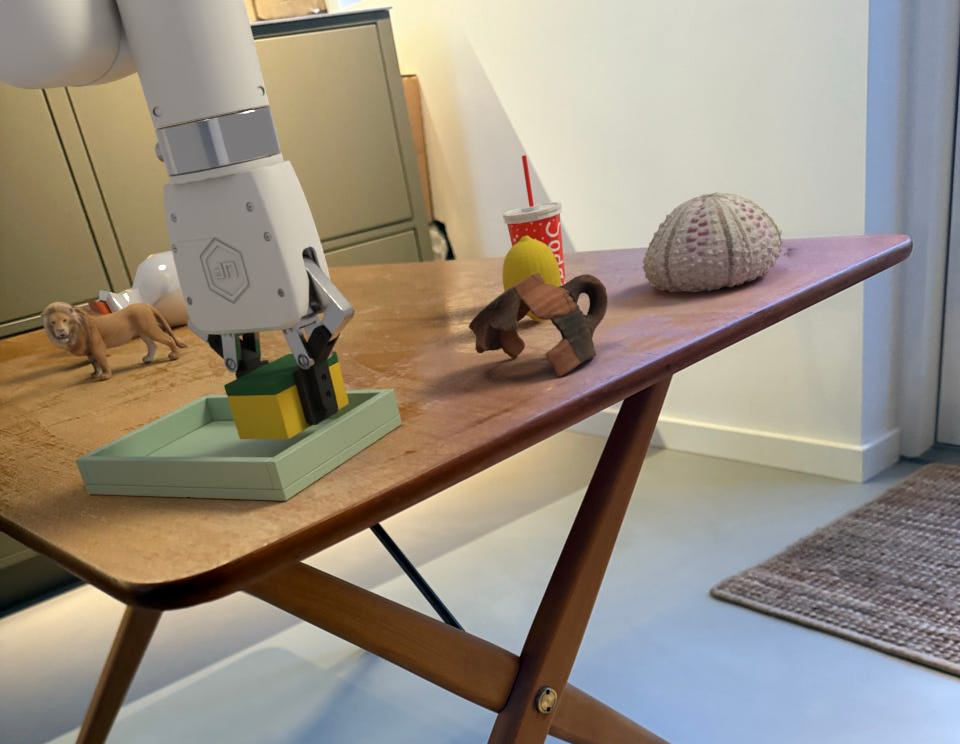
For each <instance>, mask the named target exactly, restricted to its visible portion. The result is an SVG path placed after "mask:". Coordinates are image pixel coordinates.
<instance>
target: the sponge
mask: <svg viewBox="0 0 960 744" xmlns="http://www.w3.org/2000/svg"><path fill="white" fill-rule="evenodd" d="M327 362H328V366H329V370H330V374H331V378H332V382H333V386H334V390H335V394H336V400H337V404H338V410H339V409H341V408H343V407H344V406H346V405H348V404H349V401H348V397H347V393H346V385H345V381H344V377H343V373H342V369H341V364H340V361H339V357H338V353H337V351H334V350H333V355H332V357H330V358H328V359H327ZM299 368H300V367H299V366H298V364H297V362H296V360H295V358H294V356H293V353H287V354H285V355H282V356H280V357H279V358H276V359H275V360H273V361H270V362H269V363H268V364H266V365H264V366H262V367H260V368H258V369H256V370H254V371H252V372H250V373H248V374H246V375H244V376H242V377H240V378H238V379H237V378H236V379H234V380H232V381H230V382H227V383H225V384H224V385H223V387H224V391H225V395H227V398H228V401H229V405H230V408H231V411H232V415H233V418H234V421H235V425H236V428H237V431H238V435H239V438H240V439H290V438H292V437H293V436H295V435H297V434H298V433H300V432H302V431H304V430H305V429H307V428H309V427H310V426H312V425H309V424H308V423H307V422H306V419H305V416H304V412H303V408H302V404H301V401H300V397H299V393H298V390H297V386H296V382H295V378H294V372H293V371H295V370H297V369H299Z"/></svg>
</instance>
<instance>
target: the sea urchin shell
mask: <svg viewBox="0 0 960 744" xmlns="http://www.w3.org/2000/svg"><path fill="white" fill-rule="evenodd" d="M782 234H783V231H782V230H781V229H779V225H778V223H776V222H775V221H774V219H773V218H772V217H771V216H770V214H769V213H768V212H766V210H765V209H764V208H762V207H761V206H760V205H758V204H757V203H755V202H754V201H752V200H751V199H748V198H746V197H745V196H742V195H738V194H734V193H733V194H732V193H728V192H727V193H726V192H716V191H715V192H713V193H706V194H705V193H704V194H703V193H702V194H701V195H699V196H696V197H692V198H691V199H689V200H686V201H684V202H682V203H680V204H678V205H677V207H675V208H673V210H672V211H671V212H670V213H669V214H666V215H665V219H664V221H663V222H661V223H659V224H658V229H657V231H655V232H653V237H652V239H651V240H650V242H649V244H648V248H647V250H646V252H645V253H644V257H643V260H642V264H643V266H642V269H643V272H644V274H645V275H644V278H645V279H647V281H648V283H649V284H651V285H652V286H654V288H656V290H661V291H662V292H663V291H666V290H667V291H668V292H670V293H672V292H677V293H680V292H689V293H693V292H694V293H697V292H699V293H700V292H703V291H707V292H711V291H715V290H720V288H724V287H727V288H729V287H730V288H733V287H734V286H737V287H738V286H740V285H743V284H744V283H745V282H747V283H749V282H751V281H755V280H756V279H757V278H758V277H762V276H763V274H768V273H769V270H770V268H772V267H774V266H776V261H777V260H778V258H779V257H780V256H781V255H780V253H781V252H782V251H783V249H782V245H783V244H784V243H783V242H784V241H785V240H784V239H783V237H782Z"/></svg>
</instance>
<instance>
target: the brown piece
mask: <svg viewBox="0 0 960 744" xmlns="http://www.w3.org/2000/svg"><path fill="white" fill-rule="evenodd" d="M582 294H586V295H587V297H588V301H589V305H588V310H587V313H586V314H584V311H582V310H581V309H580V306H579V304H578V301H579V298H580V295H582ZM608 301H609V298H608V294H607V289H606V286H605V285H604V283H602V282H601V280H600V278H598V277H597V276H594V275H593V274H587V273H586V274H581V275H577V276H574V277H573V278H572V279H570V280H569V281H567V282H566V284H564V285H562V286H559V287H557V286H555V285H550V284H546V283H545V281H544V280H543V278H542V276H541V274H540V273H536V274H533V275H531V276H528V277H527V278H525V279H523V280H522V281H520V282H519V283H517V284H516V285H514V286H513V287H512V288H510V289H508V290H506V291H503V292H502V293H501V294H499V295H498V296H497V297H496V298H495V299H493V300H492V301H491V302H489V303H488V304H487V305H485V307H484V308H483V309H481V310H480V311H479V312H478V313H477V314H476V316H474V318H473V319H472V320H471V321H470V323H469V324H468V329H470V331H472V332H473V334H474V335H475V347H474V348H475V349H474V350H475V351H476V352H477V354H484V352H489V351H491V352H492V351H499V350H502V351H503V353H504V354H506V355H508V356H509V357H510V358H511V359H514V360H515V359H517V358H518V356H520V354H521V353H522V352H523V351H524V350H525V347H526V346H525V345H526V344H525V341H524V340H523V339H522V338H521V337H520V336H519V333H518V331H517V330H518V329H519V328H520V324H519V322H520V321H521V320H523V319H524V318H525V317H526V316H527V313H528V312H529V311H531V313H532V314H533V315H535V316H537V317H538V318H540V319H542V320H543V321H548V320H550V321H551V323H552V324H553V326H554V327H555V328H556V329H557V330H558V331H559V333H560V336H561V339H560V341H559V342H558V343H557V344H556V345H554V346H553V347H552V348H551V349H550V350H548V351H547V352H546V353H545V357H546V358H547V360H548V362H549V363H550V364H551V365H552V367H553V369H554V371H555V372H556V375H557V377H559V378H560V377H563V376H564V375H566V374H567V373H569V372H570V371H572V370H574V369H575V368H576V367H578V366H579V365H581V364H582V363H584V362H585V361H590V360H591V359H593V358H595V357H596V356H597V352H596V350H595V345H594V340H593V337H594V333H595V331H596V329H597V327H598V326H599V325H600V324H601V322H602V321H603V319H604V318H605V315H606V313H607V309H608V303H609V302H608ZM542 320H541V321H542Z"/></svg>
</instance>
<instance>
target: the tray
mask: <svg viewBox="0 0 960 744" xmlns="http://www.w3.org/2000/svg"><path fill="white" fill-rule="evenodd" d="M346 393H347V397H348V401H349V404H348V405H346V406H344V407H343V408H341V409H339V410H338V412H337V413H336V414H334V415H332V416H331V417H329V418H327V419H326V420H324V421H322V422H321V423H319V424H317V425H312V426H310V427H309V428H307V429H305V430H304V431H302V432H300V433H298V434H297V435H295V436H293V437H292V438H290V439H240V438H239V435H238V431H237V428H236V425H235V421H234V418H233V415H232V411H231V408H230V405H229V401H228V398H227V394H206V395H205V394H204V395H203V396H201V397H199V398H197V399H195V400H193V401H191V402H189V403H186V404H185V405H182V406H180V407H179V408H176V409H174V410H173V411H170V412H168V413H166V414H164V415H162V416H161V417H158V418H157V419H155V420H152V421H150V422H147V423H145V425H142V426H140V427H138V428H136V429H134V430H132V431H130V432H128V433H126V434H124V435H121V436H120V437H117V438H116V439H114V440H112V441H110V442H108V443H106V444H104V445H102V446H100V447H98V448H96V449H94V450H91V451H90V452H88V453H85V454H84V455H81V456H79V457H77V458H76V459H74V461H75V464H76V467H77V469H78V472H79V474H80V476H81V480H82V482H83V484H84V487H85V489H86V492H87V494H88V495H101V496H103V495H104V496H130V497H131V496H133V497H163V498H187V497H191V498H190V499H192V498H193V497H194V498H193V499H218V500H219V499H220V500H247V501H248V500H249V501H276V502H277V501H279V502H287V501H289V500H290V499H291V498H293V497H294V496H296V495H297V494H299V493H300V492H302V491H303V490H305V489H307V488H308V487H309V486H312V484H314V483H315V482H317V481H318V480H320V479H322V478H324V477H325V476H326V475H327V474H329V473H331V472H332V471H333V470H335V469H337V468H338V467H339V466H341V465H343V464H344V463H345V462H347V461H349V460H351V459H352V458H353V457H355V456H356V455H358V454H359V453H361V452H362V451H364V450H366V449H367V448H369V447H370V446H371V445H373V444H374V443H376V442H377V441H379V440H380V439H382V438H383V437H385V436H386V435H388V434H389V433H390V432H393V431H394V430H395V429H397V428H399V427H400V426H402V423H403V421H402V418H401V417H402V416H401V414H400V408H399V405H398V404H399V403H398V400H397V396H396V391H395V389H394V388H386V389H385V388H380V389H379V388H377V389H376V388H375V389H347V390H346Z"/></svg>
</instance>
